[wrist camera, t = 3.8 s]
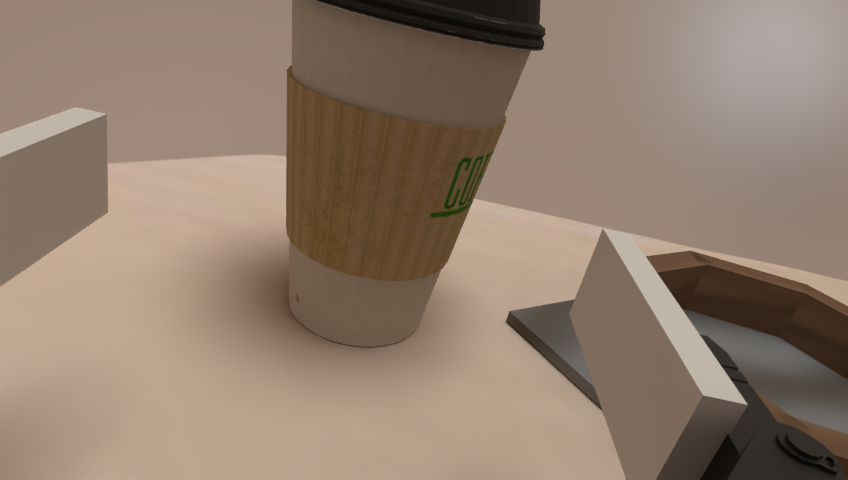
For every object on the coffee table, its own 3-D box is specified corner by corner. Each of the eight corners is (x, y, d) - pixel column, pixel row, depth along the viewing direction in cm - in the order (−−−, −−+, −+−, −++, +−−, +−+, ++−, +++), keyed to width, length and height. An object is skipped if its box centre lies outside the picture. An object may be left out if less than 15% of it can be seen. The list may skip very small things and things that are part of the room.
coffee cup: (498, 335, 27) (611, 6, 21) (328, 407, 21) (419, -47, 14) (372, 242, 33) (431, -38, 27) (208, 274, 26) (234, -90, 20)
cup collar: (1046, 491, 26) (1104, 433, 24) (910, 692, 16) (993, 613, 14) (703, 283, 39) (726, 237, 37) (506, 321, 29) (527, 259, 27)
